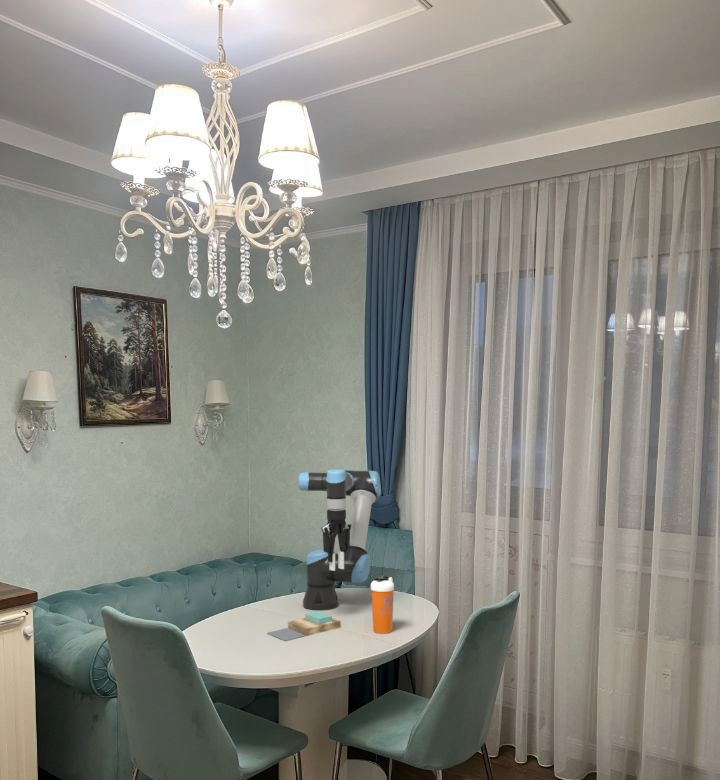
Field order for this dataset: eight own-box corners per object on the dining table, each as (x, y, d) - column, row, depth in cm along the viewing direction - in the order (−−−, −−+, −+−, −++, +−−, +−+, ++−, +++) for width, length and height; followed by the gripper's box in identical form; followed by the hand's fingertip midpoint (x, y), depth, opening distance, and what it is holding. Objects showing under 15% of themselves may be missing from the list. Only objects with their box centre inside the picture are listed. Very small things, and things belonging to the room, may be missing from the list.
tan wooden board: (321, 620, 280) (321, 614, 280) (340, 627, 271) (340, 620, 271) (288, 628, 270) (288, 621, 270) (306, 635, 261) (306, 629, 261)
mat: (286, 628, 270) (286, 628, 270) (305, 636, 261) (305, 635, 261) (266, 633, 264) (266, 632, 264) (285, 641, 255) (284, 640, 255)
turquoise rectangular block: (317, 616, 277) (317, 611, 277) (332, 621, 270) (332, 616, 271) (305, 619, 273) (305, 614, 274) (319, 624, 267) (319, 619, 267)
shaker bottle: (365, 631, 266) (365, 577, 267) (381, 625, 273) (381, 573, 273) (383, 636, 260) (383, 580, 261) (399, 630, 266) (399, 576, 267)
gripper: (347, 506, 288) (347, 564, 287) (313, 510, 277) (313, 570, 276) (358, 508, 282) (359, 567, 281) (325, 512, 271) (325, 574, 270)
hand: (336, 569), depth 278 cm, fingers open, 4 cm apart
